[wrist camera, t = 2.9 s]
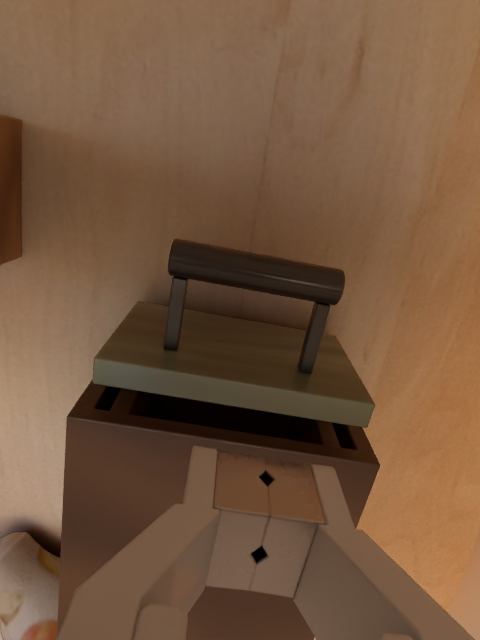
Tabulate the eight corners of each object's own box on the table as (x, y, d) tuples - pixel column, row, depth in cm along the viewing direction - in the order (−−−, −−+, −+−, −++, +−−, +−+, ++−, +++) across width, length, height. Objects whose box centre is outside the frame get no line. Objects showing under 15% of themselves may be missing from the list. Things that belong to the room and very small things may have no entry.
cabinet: (127, 328, 24) (66, 415, 15) (332, 363, 25) (381, 465, 16) (109, 514, 29) (55, 657, 20) (280, 538, 30) (296, 685, 21)
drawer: (147, 214, 21) (101, 235, 14) (359, 254, 22) (415, 293, 15) (117, 488, 27) (76, 596, 20) (283, 512, 28) (298, 624, 21)
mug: (20, 492, 28) (32, 646, 21) (116, 521, 35) (150, 646, 28) (-60, 564, 28) (-75, 743, 21) (52, 579, 35) (69, 721, 28)
